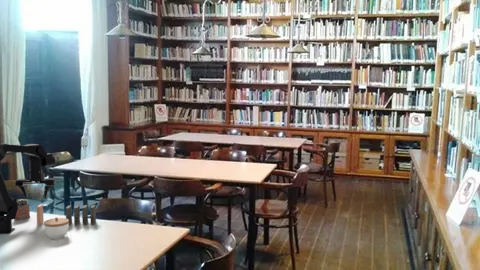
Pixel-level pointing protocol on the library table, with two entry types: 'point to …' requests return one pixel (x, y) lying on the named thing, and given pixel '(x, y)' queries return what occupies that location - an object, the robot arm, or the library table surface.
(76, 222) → the domino
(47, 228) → the lidded jar
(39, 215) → the domino
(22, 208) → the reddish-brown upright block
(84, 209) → the domino
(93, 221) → the domino
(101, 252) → the library table surface
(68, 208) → the domino
